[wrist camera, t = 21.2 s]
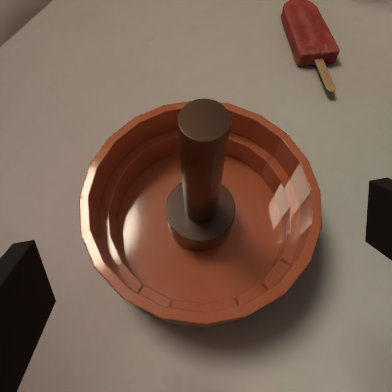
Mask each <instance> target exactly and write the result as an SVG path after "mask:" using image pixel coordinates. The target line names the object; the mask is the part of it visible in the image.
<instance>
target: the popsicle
mask: <svg viewBox="0 0 392 392" xmlns="http://www.w3.org/2000/svg"><path fill="white" fill-rule="evenodd" d="M281 19H282V23H283V26H284V29H285V32H286V35H287V38H288V40H289V43H290V46H291V49H292V52H293V55H294V58H295V61H296V64H297V65H298V66H305V65H314V64H316V66H317V68H318V71H319V73H320V76H321V78H322V80H323V83H324V85H325V87H326V90H327V91H328V92H334V91H335V89H336V88H335V85H334V83H333V81H332V78H331V76H330V74H329V72H328V69H327V67H326V65H325V63H333V62H335V60H336V58H337V56H338V53H339V51H340V50H339V48H338V46H337V44H336V42H335V40H334V38H333V36H332V35H331V33H330V31H329V29H328V27H327V25H326V23H325V21H324V20H323V18H322V16H321V14H320V12H319V10H318V8H317V7H316V6H315V4H313V3H312V2H310V1H308V0H289V1H288V2H286V3H285V5H284V7H283V11H282V14H281Z"/></svg>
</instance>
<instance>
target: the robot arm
mask: <svg viewBox="0 0 392 392" xmlns="http://www.w3.org/2000/svg"><path fill="white" fill-rule="evenodd" d="M365 241H366V242H367V243H369V244H370V245H371V246H373V247H374V248H375V249H377V250H378V251H379V252H381V253H382V254H384V255H385V256H386V257H388V258H389V259H390V260H392V179H389V178H383V179H377V180H372V181H369V195H368V210H367V225H366V240H365ZM55 302H56V300H55V297H54V294H53V292H52V289H51V286H50V283H49V280H48V277H47V275H46V272H45V269H44V266H43V263H42V260H41V258H40V255H39V252H38V249H37V246H36V243H35V241H34V240H31V241H26V242H20V243H14V244H12V245H11V246H10V248H9V249H8V250H7V251H6V252H5V254H4V255H3V256H2V257H1V258H0V392H17V390H18V387H19V385H20V383H21V381H22V378H23V376H24V374H25V371H26V369H27V367H28V364H29V362H30V360H31V357H32V355H33V353H34V350H35V348H36V346H37V343H38V341H39V339H40V336H41V334H42V332H43V329H44V327H45V325H46V322H47V320H48V318H49V315H50V313H51V311H52V309H53V306H54V304H55Z"/></svg>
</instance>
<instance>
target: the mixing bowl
mask: <svg viewBox="0 0 392 392" xmlns="http://www.w3.org/2000/svg"><path fill="white" fill-rule="evenodd" d="M189 102H191V101H189ZM189 102H182V103H175V104H168V105H163V106H161V107H158V108H156V109H154V110H151V111H149V112H146V113H144V114H142V115H139V116H137V117H135V118H133V119H132V120H131V121H129V122H128V123H127V124H126V125H124V126H123V127H122V128H121V129H119V130H118V131H117V132H115V133H114V134H113V135H112V136H110V137H109V138H108V139H107V141H106V142H105V144H104V145H103V146H102V148H101V149H100V151H99V152H98V154H97V155H96V156H95V158H94V159H93V161H92V162H91V163H90V166H89V168H88V172H87V175H86V178H85V181H84V184H83V188H82V191H81V194H80V198H79V202H80V228H81V235H82V238H83V240H84V243H85V245H86V248H87V250H88V252H89V255H90V257H91V260H92V262H93V265H94V267H95V268H96V270H97V271H98V272H99V273H100V274H101V275H102V277H103V278H104V279H105V280H106V281H107V282H108V283H109V284H110V285H111V286H112V287H113V288H114V290H115V291H116V292H117V293H118V294H119V295H120V296H121V297H122V298H123V299H125V300H126V301H128V302H129V303H131V304H133V305H134V306H136V307H138V308H140V309H142V310H144V311H146V312H147V313H149V314H151V315H153V316H155V317H157V318H159V319H161V320H163V321H165V322H167V323H171V324H178V325H185V326H192V327H200V328H203V327H204V328H206V327H211V326H216V325H221V324H226V323H231V322H235V321H239V320H241V319H243V318H245V317H247V316H249V315H251V314H253V313H254V312H256V311H258V310H259V309H261V308H263V307H264V306H266V305H268V304H269V303H271V302H273V301H274V300H276V299H277V298H279V297H281V296H282V295H284V294H285V293H286V292H287V291H288V290H289V289H290V287H291V286H292V285H293V283H294V282H295V281H296V280H297V278H298V277H299V276H300V275H301V273H302V272H303V271H304V270H305V268H306V267H307V266H308V265H309V263H310V262H311V259H312V256H313V252H314V249H315V246H316V243H317V240H318V237H319V234H320V231H321V226H322V221H321V196H320V189H319V187H318V184H317V182H316V179H315V177H314V174H313V171H312V169H311V166H310V164H309V161H308V160H307V158H306V157H305V156H304V154H303V153H302V152H301V151H300V149H299V148H298V147H297V146H296V144H295V143H294V142H293V141H292V140H291V138H290V137H289V136H288V135H287V133H285V132H284V131H282V130H281V129H280V128H278V127H277V126H275V125H274V124H272V123H271V122H270V121H268V120H267V119H265V118H264V117H262V116H261V115H259V114H256V113H253V112H251V111H248V110H245V109H242V108H240V107H237V106H234V105H231V104H229V103H221V104H222V105H223V106H224V107H225V108H226V109H227V110H228V112H229V113H230V116H231V127H230V133H229V139H228V145H227V151H226V157H225V163H224V169H223V175H222V182H221V184H223V185H224V186H225V187H226V188H227V189H228V190H229V191H230V193H231V194H232V196H233V199H234V202H235V208H236V212H235V218H234V221H233V224H232V227H231V230H230V233H229V235H228V237H227V238H226V240H225V241H224V242H223V243H222V244H221V245H219V246H218V247H216V248H214V249H211V250H208V251H192V250H189V249H187V248H185V247H183V246H181V245H180V244H179V243H178V242H177V241H176V240H175V239H174V238H173V236H172V234H171V232H170V230H169V225H168V221H167V217H166V202H167V199H168V196H169V194H170V193H171V191H172V190H173V189H174V188H175V187H176V186H177V185H178V184H179V183H181V182H182V173H181V160H180V147H179V135H178V122H177V120H178V115H179V112H180V111H181V109H182V108H183V107H184V106H185V105H186V104H188V103H189Z"/></svg>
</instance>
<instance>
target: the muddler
mask: <svg viewBox="0 0 392 392" xmlns="http://www.w3.org/2000/svg"><path fill="white" fill-rule="evenodd" d="M177 122H178V135H179V147H180V160H181V173H182V182H181V183H179V184H178V185H177V186H176V187H175V188H174V189H173V190H172V191H171V193H170V194H169V196H168V199H167V202H166V217H167V221H168V225H169V230H170V232H171V234H172V236H173V238H174V239H175V240H176V241H177V242H178V243H179V244H180V245H181V246H183V247H185V248H187V249H189V250H192V251H208V250H211V249H214V248H216V247H218V246H219V245H221V244H222V243H223V242H224V241H225V240H226V238H227V237H228V235H229V233H230V230H231V227H232V224H233V221H234V218H235V212H236V208H235V202H234V199H233V196H232V194H231V193H230V191H229V190H228V189H227V188H226V187H225V186H224V185H223V184H221V182H222V175H223V169H224V163H225V157H226V151H227V145H228V139H229V133H230V127H231V116H230V113H229V112H228V110H227V109H226V108H225V107H224V106H223V105H222V104H221V103H219V102H217V101H214V100H211V99H197V100H194V101H191V102H189V103H188V104H186V105H185V106H184V107H183V108H182V109H181V111H180V112H179V115H178V120H177Z"/></svg>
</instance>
